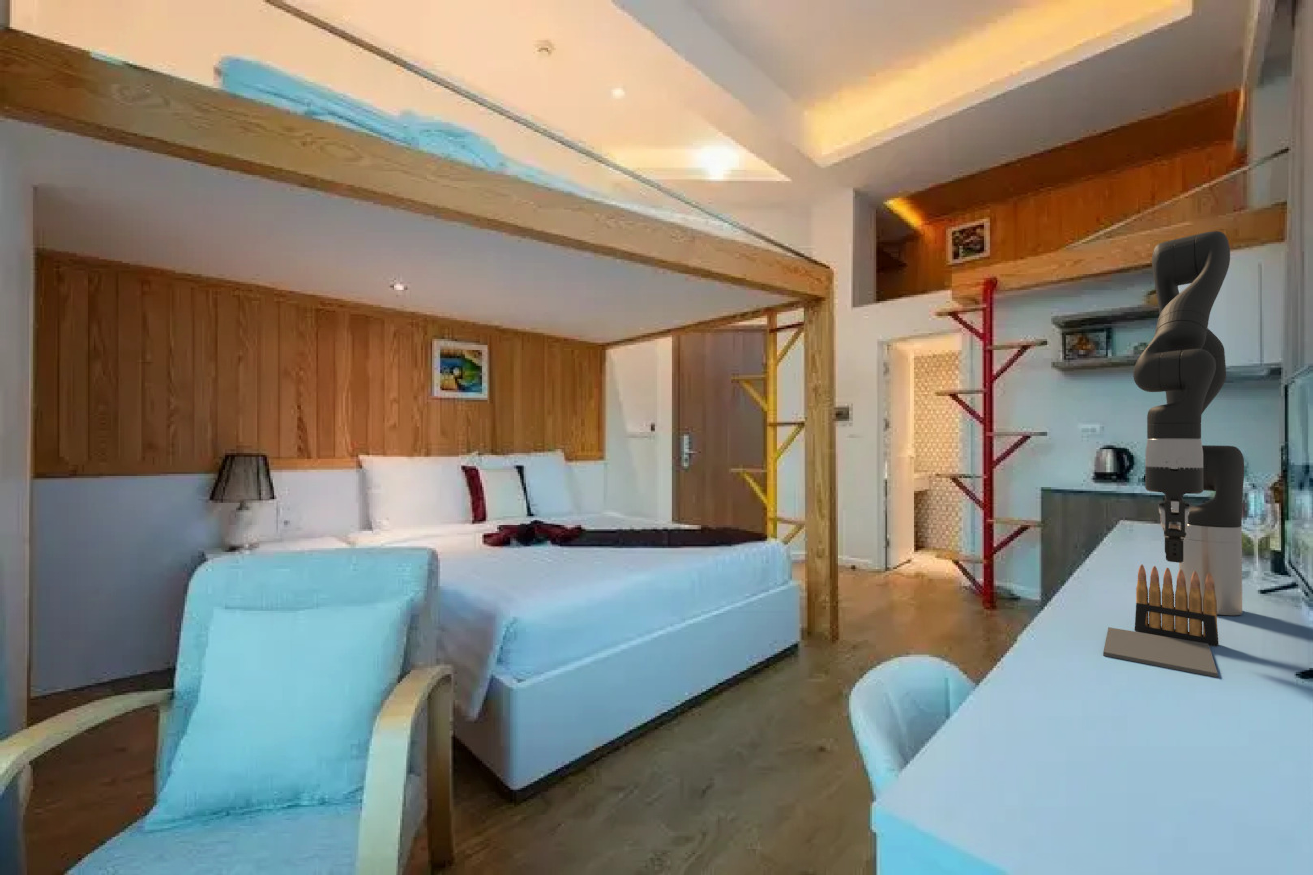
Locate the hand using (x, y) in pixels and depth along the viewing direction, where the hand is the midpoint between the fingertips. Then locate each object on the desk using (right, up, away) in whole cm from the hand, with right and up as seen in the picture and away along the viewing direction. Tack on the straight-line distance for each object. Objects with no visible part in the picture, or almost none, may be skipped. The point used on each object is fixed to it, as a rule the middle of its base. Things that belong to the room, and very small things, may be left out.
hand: (1173, 558), depth 100 cm
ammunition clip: (0, -14, 0) cm, 14 cm away
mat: (-9, -14, -7) cm, 18 cm away
